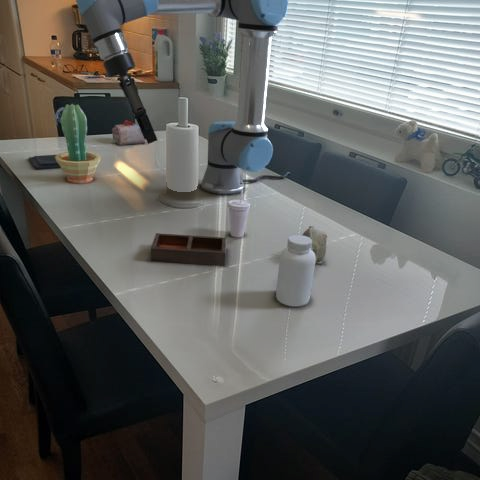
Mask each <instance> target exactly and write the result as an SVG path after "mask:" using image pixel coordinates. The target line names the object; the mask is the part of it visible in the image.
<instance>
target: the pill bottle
mask: <svg viewBox="0 0 480 480" xmlns="http://www.w3.org/2000/svg"><path fill="white" fill-rule="evenodd" d="M286 245H287V246H286V247H285V248H283V249H282V250H281V252H280V255H279V262H278V263H279V264H278V272H277V279H276V280H277V282H276V291H275V298H276V300H277V301H278V302H279V303H280V304H282V305H285V306H288V307H303V306H306V305H307V304H308V303H309V301H310V299H311V292H312V286H313V280H314V274H315V267H316V263H315V261H316V256H315V254H314V252H313V251H312V250H311V246H312V240H311V239H310V238H309V237H307V236H303V235H302V234H294V235H290V236H289V237H288V238H287V244H286Z"/></svg>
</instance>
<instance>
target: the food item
mask: <svg viewBox="0 0 480 480" xmlns="http://www.w3.org/2000/svg"><path fill="white" fill-rule="evenodd" d="M111 134H112V139H113V140H114V142H115V143H117V145H119V146H128V145H143V144H146V139H144V137H143V134H142V132H141V130H140V127H139V125H138V122H137V123H136V122H135V123H134V122H132V121H131V120H127V119H125V120H124V121H123V122H122V124H121V123H120V124H115V125H114V127H112V129H111Z"/></svg>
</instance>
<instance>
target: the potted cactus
mask: <svg viewBox="0 0 480 480" xmlns="http://www.w3.org/2000/svg"><path fill="white" fill-rule="evenodd" d="M54 119H55V125H56V126H59V123H60V124H61V131H62V133H63V136H64V138H65V142H66V147H67V151H65V152H61V153H58V154H55V155H56V156H55V159H56V161H57V163H58V164H59V165H60V167H61V168H60V169H61V171H62V172H63V173H64V174H65V176H66V180H67V181H68V182H70V183H74V184H85V183H86V184H87V183H91V182H92V181H93V180H94V177H93V175H94V174H95V172H96V171H97V168H98V165H99V163H100V162H101V156H100V155H99V154H98V153H94V152H90V151H87V150H86V149H87V148H86V139H87V135H88V119H87V116H86V114H85V112H84V111H83V109H82V108H81V106H80V105H79V104H74V103H70V104H69V103H68V104H65V106H62V107H59V108H58V109H57V110H56V112H55V114H54Z"/></svg>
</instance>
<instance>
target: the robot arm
mask: <svg viewBox="0 0 480 480" xmlns="http://www.w3.org/2000/svg"><path fill="white" fill-rule="evenodd" d="M75 3H76V5H77V7H78V11H79V13H80V16H81V17H82V20H83V22H84V24H85V26H86V28H87V31H88V33H89V35H90V37H91V39H92V42H93V44H94V46H95V47H94V49H93V50H94V53H98V56H99V58H100V60H101V61H103V64H102V66H103V68H104V70H105V72H106V75H107V77H108V78H114V77H116V76H118V77H119V83H118V85H119V87H120V89H121V90H120V91H122V92H123V94H124V97H125V98H126V99H127V101H128V103H129V106H130V108H131V112H132V114H133V118H134V120H135V121H136V122H137V123H138V125H139V127H140V130H141V132H142V134H143V137H144V139H145V142H146V143H147V145H149V144H152V143H155V142H157V141H158V137H157V135H156V133H155V130H154V128H153V125H152V123H151V121H150V118H149V115H148V114H147V109H146V108H145V106H144V104H143V101H142V99H141V97H140V95H139V89H138V87H137V83H136V80H135V78H134V77H132V75H131V74H130V73H129V71H131V70H134V69H135V68H136V63H135V60H134V58H133V55H132V53H131V52H130V51H129V52H128V50H129V49H130V47H129V44H128V42H127V40H126V38H125V36H124V32H123V30H122V29H121V26H122V25H124V24H127V23H131V22H132V21H133V22H134V21H136V20H138V19H142V18H147V17H148V16H153V15H154V16H156V15H159V16H161V15H196V14H199V15H200V14H208V16H209V17H211V18H225V19H230V20H234V21H238V24H237V30H238V31H239V32H240V34H241V35H242V43H241V56H240V71H239V85H238V86H239V88H238V102H237V104H238V105H237V118H236V121H231V120H230V121H227V120H226V121H213V122H211V123H210V124H209V126H208V133H207V136H208V137H207V138H208V139H207V166H206V169H205V172H204V174H203V178H202V180H201V188H202V189H203V190H204V191H205V192H208V193H211V194H215V195H216V194H217V195H236V194H239V193H240V194H241V188H243V189H244V183H255V182H258V181H259V180H260V179H264V178H265V179H266V178H267V179H268V178H269V179H279V180H280V179H284V178H286V177H287V176H292V174H291V173H290V171H286V172H285V174H284V175H269V174H263V175H262V174H261V175H259V176H258V177H256V178H253V179H252V178H251V179H249V178H247V179H243V176H242V172H241V170H242V171H244V172H249V173H258V172H261V171H263V170H264V169H265V168H266V166H268V165H269V163H270V161H271V159H272V157H273V152H274V147H273V144H272V143H271V141H270V140H269V138H268V130H269V128H268V127H267V126H266V124H265V115H266V102H267V93H268V83H269V82H268V81H269V69H270V60H271V48H272V40H273V37H274V36H276V34H277V33H278V30H279V29H278V28H279V24H280V23H281V22H283V21H284V18H285V17H286V15H287V13H288V8H289V0H75Z"/></svg>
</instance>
